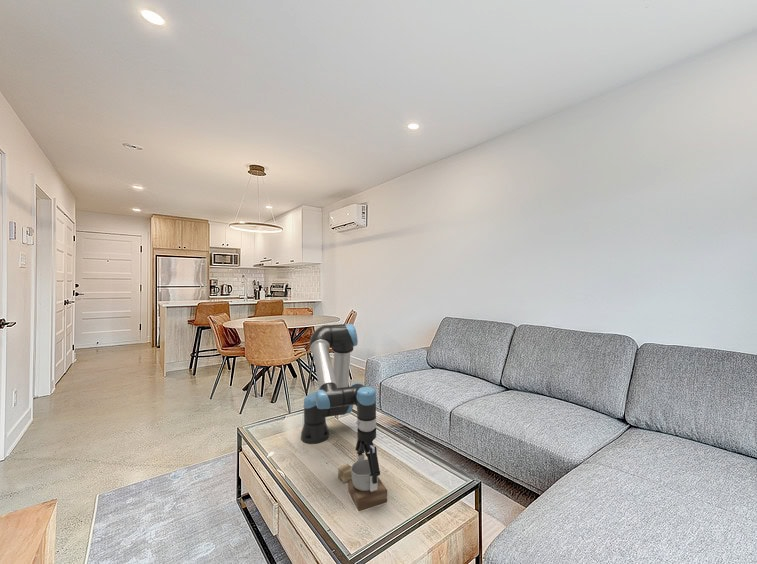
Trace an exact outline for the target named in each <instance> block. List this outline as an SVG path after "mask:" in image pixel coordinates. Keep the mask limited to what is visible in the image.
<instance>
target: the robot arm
mask: <svg viewBox="0 0 757 564" xmlns="http://www.w3.org/2000/svg"><path fill="white" fill-rule="evenodd" d="M358 343H359V341H358V334H357V329H356V326H355V325H354V324H352V323H343V324H325V325H322V326H319V327H318V328H317V329H316V330H315V331H314V332H313V334H311V337H310V339H309V350H310V352H311V353H312V357H313V361H314V366H315V373H316V379H317V383H318V390H316V391H314V392H311V393H309V394H307V395H306V396H305V397H304V398H303V399H304V400H303V427H302V428H301V432H300V440H301V441H302V442H303V443H306V444H310V445H312V444H314V445H315V444H321V443H322V442H325V441H326V440H328V439H329V437H330V430H329V427H328V423H327V421H326V419H327V418H329V417H336V416H344V415H348V414H351V413H352V411H353V409H354V406H356V417H357V420H356V424H357V431H356V433H357V440H356V445H355V451H356V454H357V461H360V460H365V457H367V460H368V462H369V467H370V471H371V474H370V491H371V492H372V491H375V490H377V476H378V477H379V476H381V471H380V466H379V460H378V459H379V458H378V452H377V451H378V450H377V446H374V443H373V441H374V440H375V439H376V438H377V393H376V389H375V388H373V387H371V386H365V385H364V383H361V382H359V381H358V382H354V383H352V384H350V386H349V380H350V379H349V378H350V364H351V353H352V352H353V351H354V347H357V346H358ZM330 349H331V351H333V363H332V359H331V355H330Z"/></svg>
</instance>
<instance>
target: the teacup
mask: <svg viewBox="0 0 757 564" xmlns="http://www.w3.org/2000/svg"><path fill="white" fill-rule="evenodd" d="M350 466H351V475H352V482H353V485H354V486H355V488H357V489H359V490H360V491H369V490H370V474H371V471H370V467H369V462H368V459H364V460H360V461H358V460H357V461H355V462H354V463H352V465H350ZM378 477H379V476H377V482H378Z"/></svg>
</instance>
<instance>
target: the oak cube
mask: <svg viewBox="0 0 757 564" xmlns="http://www.w3.org/2000/svg"><path fill="white" fill-rule="evenodd" d="M351 466H352V465H350V464H349V463H346V464H344V465H342V466H339V467H338V468H337V476H338V479H339V480H340V481H341V482H342V483H344V484H346V483H347V482H348V480H350V479H352V475H351Z"/></svg>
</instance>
